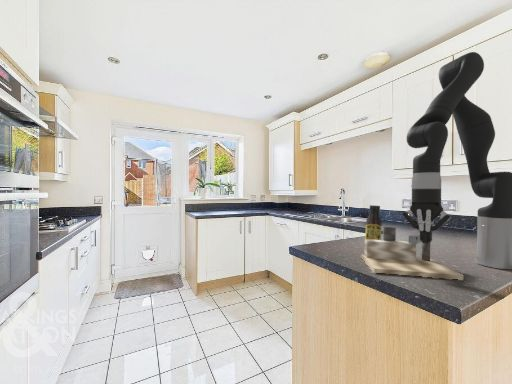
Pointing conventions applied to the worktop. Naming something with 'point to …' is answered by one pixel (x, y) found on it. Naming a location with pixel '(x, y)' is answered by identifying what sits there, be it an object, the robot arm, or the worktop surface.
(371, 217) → the sauce bottle
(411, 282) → the worktop surface
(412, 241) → the latch bar
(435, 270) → the door frame board
